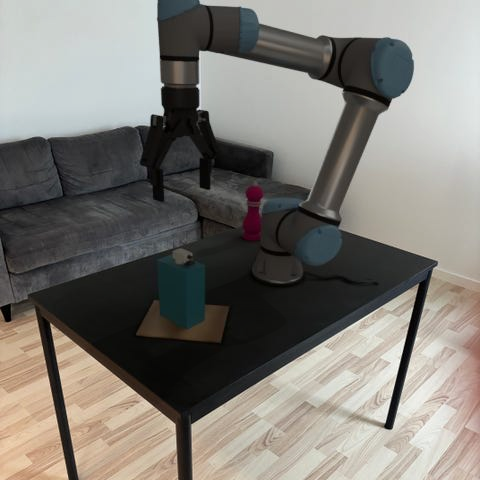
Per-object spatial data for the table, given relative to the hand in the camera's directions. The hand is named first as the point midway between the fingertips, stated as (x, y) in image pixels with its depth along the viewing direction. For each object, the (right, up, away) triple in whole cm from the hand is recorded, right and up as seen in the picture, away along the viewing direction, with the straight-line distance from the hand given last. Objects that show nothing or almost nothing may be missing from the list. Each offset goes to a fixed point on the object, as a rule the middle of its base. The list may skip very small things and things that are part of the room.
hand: (182, 194), depth 104 cm
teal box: (-5, -17, +14) cm, 23 cm away
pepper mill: (+17, +2, +67) cm, 69 cm away
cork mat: (-1, -27, +15) cm, 31 cm away
